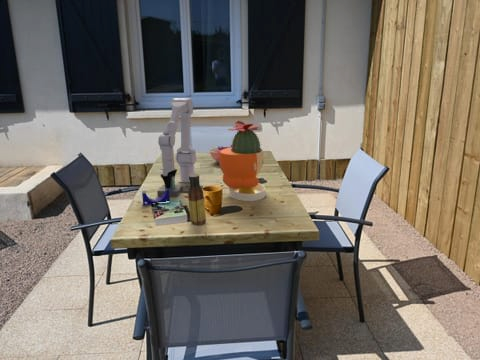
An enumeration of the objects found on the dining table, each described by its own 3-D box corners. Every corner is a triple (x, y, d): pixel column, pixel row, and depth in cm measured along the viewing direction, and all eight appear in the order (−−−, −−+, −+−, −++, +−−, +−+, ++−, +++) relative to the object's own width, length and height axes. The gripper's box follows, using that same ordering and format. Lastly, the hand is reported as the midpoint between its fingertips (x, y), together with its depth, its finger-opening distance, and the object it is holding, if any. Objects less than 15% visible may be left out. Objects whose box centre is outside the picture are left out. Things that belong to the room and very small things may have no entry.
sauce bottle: (206, 219, 168) (204, 172, 163) (205, 225, 162) (203, 177, 157) (190, 220, 168) (187, 173, 162) (189, 226, 162) (186, 177, 156)
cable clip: (169, 200, 194) (168, 187, 192) (170, 203, 189) (169, 190, 188) (142, 202, 190) (141, 190, 189) (143, 206, 186) (142, 193, 185)
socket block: (163, 189, 209) (163, 184, 208) (182, 189, 208) (182, 184, 207) (157, 196, 199) (157, 191, 198) (177, 196, 198) (177, 191, 197)
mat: (185, 186, 212) (185, 185, 212) (202, 187, 211) (202, 185, 211) (181, 192, 203) (181, 191, 203) (199, 192, 203) (199, 191, 202)
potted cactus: (254, 185, 212) (253, 117, 202) (273, 198, 192) (273, 123, 182) (214, 191, 204) (211, 120, 195) (229, 205, 185) (227, 127, 175)
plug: (167, 191, 206) (166, 176, 203) (175, 191, 205) (174, 176, 203) (165, 194, 202) (164, 178, 199) (173, 194, 201) (172, 178, 199)
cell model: (211, 159, 268) (210, 142, 265) (242, 159, 267) (241, 142, 264) (208, 166, 252) (207, 148, 249) (241, 165, 251) (240, 147, 248)
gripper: (163, 155, 206) (165, 181, 210) (155, 162, 192) (157, 190, 196) (177, 155, 205) (179, 181, 209) (170, 162, 191) (172, 190, 195)
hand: (170, 186), depth 202 cm, fingers open, 6 cm apart
